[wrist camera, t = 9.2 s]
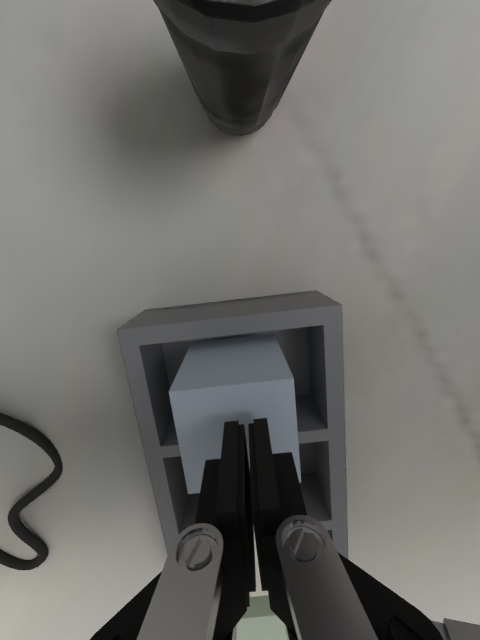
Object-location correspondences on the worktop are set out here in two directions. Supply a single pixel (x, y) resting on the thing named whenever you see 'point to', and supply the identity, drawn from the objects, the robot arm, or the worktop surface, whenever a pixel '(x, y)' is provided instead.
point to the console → (309, 382)
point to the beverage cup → (240, 53)
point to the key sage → (260, 622)
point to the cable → (29, 497)
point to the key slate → (232, 399)
